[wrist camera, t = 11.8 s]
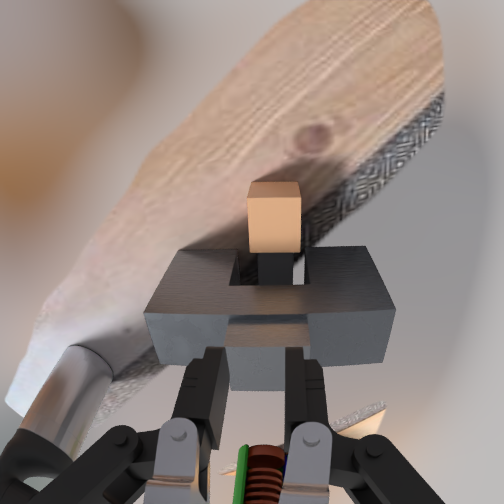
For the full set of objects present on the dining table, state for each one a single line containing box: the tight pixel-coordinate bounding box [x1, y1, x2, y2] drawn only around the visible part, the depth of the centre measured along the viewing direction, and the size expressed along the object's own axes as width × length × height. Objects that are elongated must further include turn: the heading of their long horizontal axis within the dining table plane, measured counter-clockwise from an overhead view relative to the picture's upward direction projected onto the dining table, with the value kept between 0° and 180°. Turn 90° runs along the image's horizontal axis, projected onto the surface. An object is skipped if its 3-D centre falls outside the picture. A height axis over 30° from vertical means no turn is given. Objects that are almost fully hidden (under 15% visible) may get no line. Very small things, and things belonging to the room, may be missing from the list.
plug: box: [247, 182, 301, 285], centre depth 32 cm, size 17×4×5 cm, turn 3°
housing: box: [143, 246, 396, 391], centre depth 29 cm, size 6×20×14 cm, turn 94°
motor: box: [233, 444, 288, 504], centre depth 46 cm, size 10×9×20 cm
